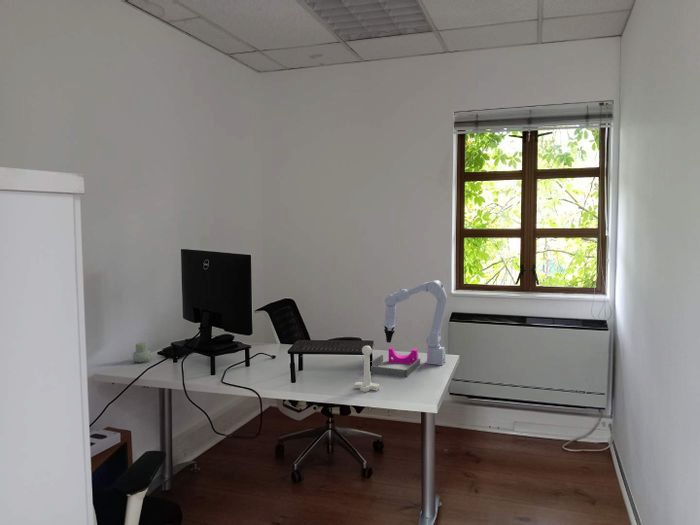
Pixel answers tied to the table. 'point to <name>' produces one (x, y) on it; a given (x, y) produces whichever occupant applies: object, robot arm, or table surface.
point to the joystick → (366, 373)
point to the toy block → (403, 357)
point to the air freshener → (141, 353)
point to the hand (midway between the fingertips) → (388, 340)
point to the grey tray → (391, 370)
